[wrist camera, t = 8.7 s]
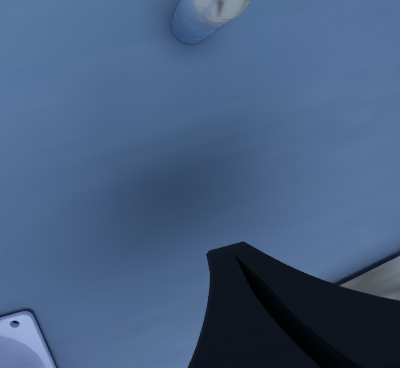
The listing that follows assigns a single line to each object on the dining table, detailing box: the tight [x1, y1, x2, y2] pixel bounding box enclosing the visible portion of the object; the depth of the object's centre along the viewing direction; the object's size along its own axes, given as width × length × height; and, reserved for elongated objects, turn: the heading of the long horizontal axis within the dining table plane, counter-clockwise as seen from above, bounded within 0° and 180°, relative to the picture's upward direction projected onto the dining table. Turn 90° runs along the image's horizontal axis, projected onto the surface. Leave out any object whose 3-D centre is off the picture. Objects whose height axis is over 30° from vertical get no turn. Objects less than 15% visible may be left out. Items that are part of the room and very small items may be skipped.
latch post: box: [171, 0, 251, 45], centre depth 14 cm, size 2×2×7 cm
